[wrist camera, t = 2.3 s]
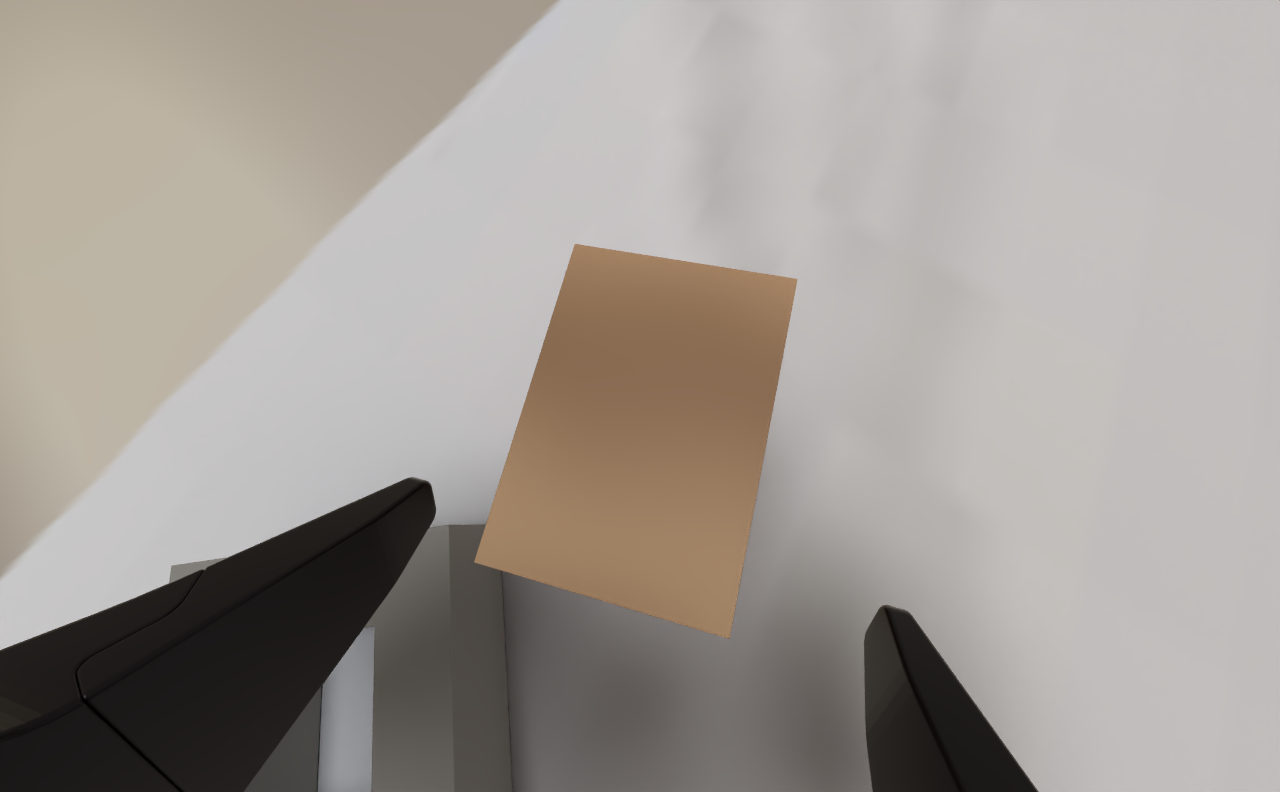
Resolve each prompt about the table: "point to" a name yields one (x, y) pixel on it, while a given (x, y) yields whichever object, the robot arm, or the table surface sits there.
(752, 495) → the brown wooden block
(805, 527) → the table surface
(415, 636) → the grey block with slot
